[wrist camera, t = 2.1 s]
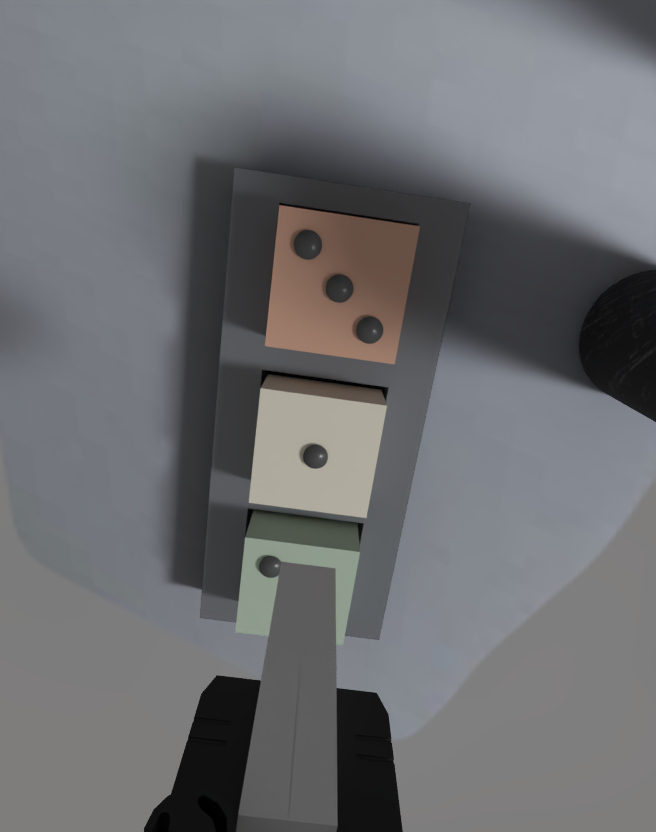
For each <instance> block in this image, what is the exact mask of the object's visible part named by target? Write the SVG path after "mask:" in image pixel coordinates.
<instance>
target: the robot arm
mask: <svg viewBox="0 0 656 832" xmlns="http://www.w3.org/2000/svg"><path fill="white" fill-rule="evenodd" d="M393 760H394V757H393V750H392V743H391V732H390V724H389V716H388V713H387V711H386V709H385V707H384V706H383V704H382V702H381V700H380V698H379V696H378V695H377V693H373V692H364V691H356V690H348V689H339V688H336V568H329V567H321V566H313V565H305V564H297V563H289V562H282V561H281V567H280V572H279V578H278V584H277V590H276V596H275V602H274V608H273V613H272V619H271V625H270V631H269V637H268V643H267V649H266V654H265V660H264V666H263V672H262V678H261V681H260V680H251V679H243V678H234V677H226V676H216V677H215V678H214V680H213V681H212V682H211V683H210V684H209V685H208V687H207V688H206V689H205V690H204V691H203V693H202V694H201V697H200V700H199V704H198V707H197V710H196V714H195V717H194V722H193V723H192V727H191V730H190V733H189V737H188V741H187V743H186V747H185V750H184V753H183V756H182V760H181V763H180V767H179V770H178V773H177V777H176V780H175V783H174V786H173V790H172V793H171V795H169V796H167V797H166V798H165V799H164V800H163V801H162V802H161V803H160V804H159V805H158V806H157V807H156V808H155V809H154V810H153V812H152V814H151V816H150V818H149V820H148V822H147V824H146V826H145V827H144V832H403V831H402V823H401V815H400V807H399V799H398V790H397V782H396V774H395V765H394V763H393Z"/></svg>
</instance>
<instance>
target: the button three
mask: <svg viewBox="0 0 656 832" xmlns="http://www.w3.org/2000/svg"><path fill="white" fill-rule="evenodd" d="M419 230H420V226H414V225H407V224H401V223H394V222H388V221H381V220H374V219H368V218H361V217H354V216H348V215H341V214H334V213H328V212H321V211H315V210H308V209H301V208H295V207H288V206H281V205H279V214H278V223H277V233H276V243H275V252H274V262H273V272H272V282H271V291H270V301H269V311H268V320H267V330H266V340H265V346H268V347H275V348H282V349H289V350H296V351H303V352H310V353H317V354H324V355H331V356H339V357H346V358H353V359H360V360H367V361H374V362H381V363H388V364H395V360H396V355H397V349H398V344H399V338H400V333H401V327H402V322H403V316H404V311H405V306H406V300H407V295H408V289H409V284H410V278H411V273H412V268H413V262H414V257H415V251H416V246H417V240H418V235H419Z"/></svg>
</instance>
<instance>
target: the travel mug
mask: <svg viewBox="0 0 656 832" xmlns="http://www.w3.org/2000/svg"><path fill="white" fill-rule="evenodd" d="M579 349H580V357H581V362H582V365H583V367H584V370H585V372H586V374H587V375H588V377H589V378H590V380H591V381H592V382H593V383H594V384H595V385H596V386H597V387H598V388H600V389H601V390H602V391H604V392H605V393H606V394H608V395H610V396H611V397H613V398H615V399H616V400H618V401H620V402H622V403H623V404H625V405H627V406H629V407H630V408H632V409H634V410H636V411H637V412H639V413H641V414H643V415H644V416H646V417H648V418H650V419H651V420H653V421H655V422H656V270H651V271H645V272H641V273H637V274H634V275H632V276H629V277H627V278H625V279H623V280H621V281H619V282H618V283H616V284H614V285H613V286H612V287H610V288H609V289H608V290H607V291H606V292H604V293H603V294H602V295H601V296H600V297H599V299H598V300H597V301H596V302H595V303H594V305H593V306H592V308H591V309H590V311H589V313H588V315H587V317H586V319H585V321H584V324H583V326H582V330H581V334H580V343H579Z"/></svg>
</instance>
